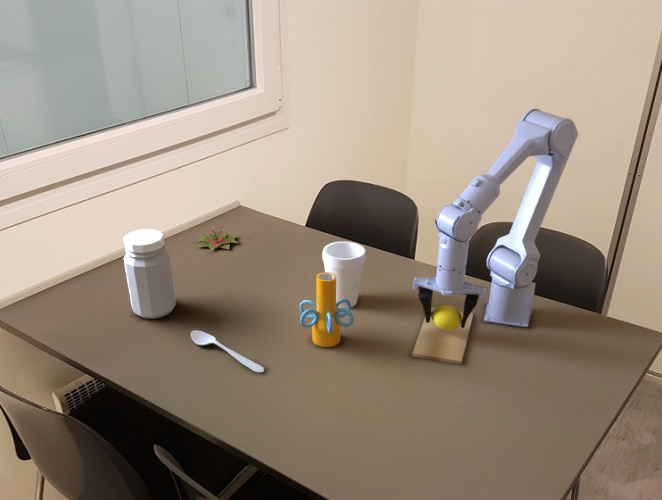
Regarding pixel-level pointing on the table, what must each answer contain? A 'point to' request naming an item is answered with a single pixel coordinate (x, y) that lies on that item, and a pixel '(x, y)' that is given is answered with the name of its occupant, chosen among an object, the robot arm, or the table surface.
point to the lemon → (446, 317)
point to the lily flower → (217, 240)
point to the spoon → (205, 339)
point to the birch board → (442, 341)
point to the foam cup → (345, 269)
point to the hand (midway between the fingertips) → (445, 322)
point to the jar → (149, 274)
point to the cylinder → (326, 312)
